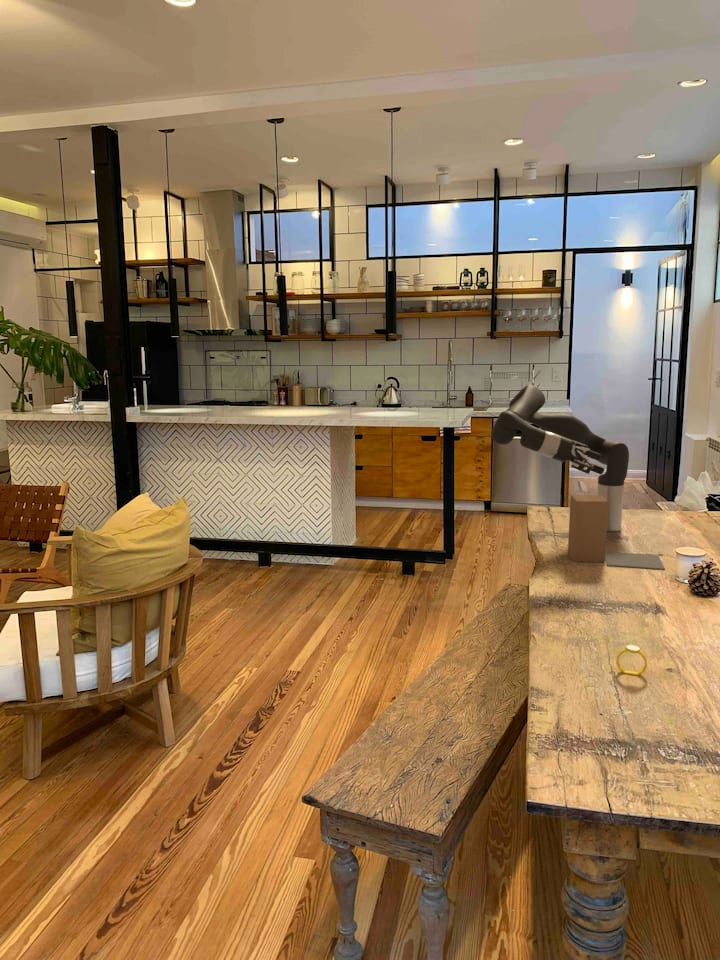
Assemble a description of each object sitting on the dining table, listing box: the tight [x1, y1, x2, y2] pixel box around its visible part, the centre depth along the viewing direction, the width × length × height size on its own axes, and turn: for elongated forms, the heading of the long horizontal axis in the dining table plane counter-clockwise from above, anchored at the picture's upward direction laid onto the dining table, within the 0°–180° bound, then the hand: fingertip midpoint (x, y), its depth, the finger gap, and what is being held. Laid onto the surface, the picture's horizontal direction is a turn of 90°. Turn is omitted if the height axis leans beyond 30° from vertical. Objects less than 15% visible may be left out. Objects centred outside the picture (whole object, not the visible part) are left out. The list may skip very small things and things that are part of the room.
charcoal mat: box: [605, 551, 666, 571], centre depth 232 cm, size 15×17×1 cm
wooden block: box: [567, 494, 609, 563], centre depth 234 cm, size 10×10×20 cm
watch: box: [616, 644, 648, 677], centre depth 153 cm, size 6×3×6 cm, turn 68°
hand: (601, 464), depth 227 cm, fingers open, 8 cm apart
